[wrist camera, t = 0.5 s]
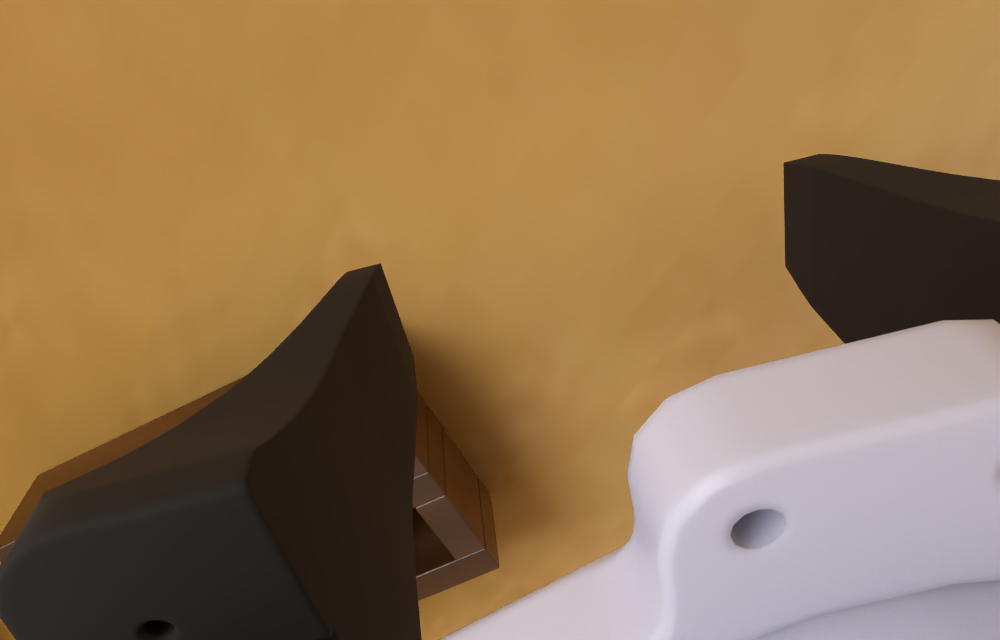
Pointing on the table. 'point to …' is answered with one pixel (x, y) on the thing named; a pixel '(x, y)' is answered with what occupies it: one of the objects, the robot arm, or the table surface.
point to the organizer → (436, 498)
